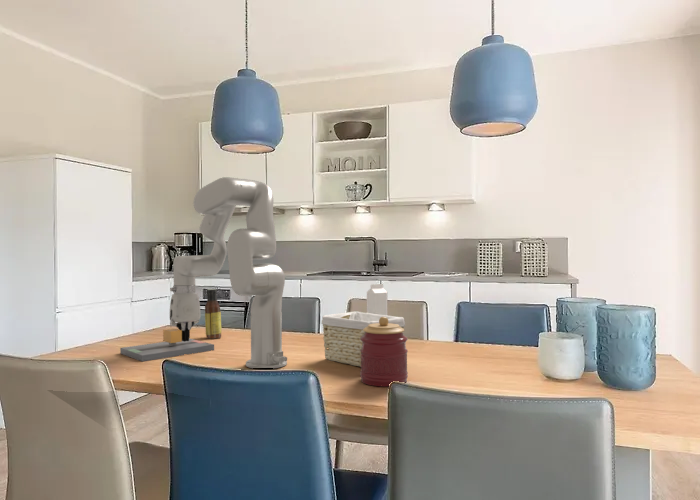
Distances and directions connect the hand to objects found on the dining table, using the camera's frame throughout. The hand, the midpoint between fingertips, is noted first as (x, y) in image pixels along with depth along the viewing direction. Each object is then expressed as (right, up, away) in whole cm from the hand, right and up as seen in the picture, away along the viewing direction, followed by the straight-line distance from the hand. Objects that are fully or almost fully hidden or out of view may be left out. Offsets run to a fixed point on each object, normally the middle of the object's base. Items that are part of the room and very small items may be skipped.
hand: (184, 340), depth 188 cm
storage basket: (+64, -3, -20) cm, 67 cm away
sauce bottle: (+4, -3, +24) cm, 24 cm away
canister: (+69, -3, -46) cm, 83 cm away
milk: (+70, -3, +18) cm, 73 cm away
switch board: (-5, -3, -5) cm, 7 cm away
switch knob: (-3, -1, -3) cm, 5 cm away
